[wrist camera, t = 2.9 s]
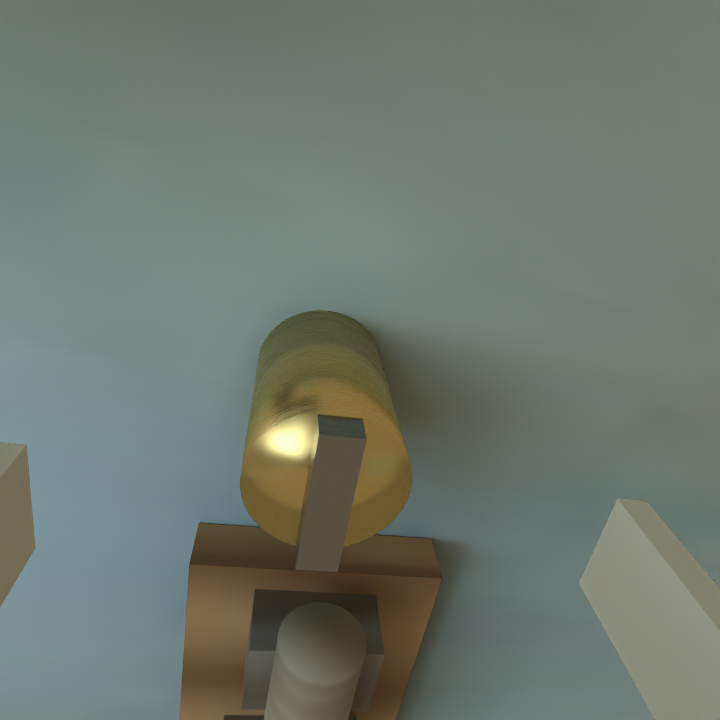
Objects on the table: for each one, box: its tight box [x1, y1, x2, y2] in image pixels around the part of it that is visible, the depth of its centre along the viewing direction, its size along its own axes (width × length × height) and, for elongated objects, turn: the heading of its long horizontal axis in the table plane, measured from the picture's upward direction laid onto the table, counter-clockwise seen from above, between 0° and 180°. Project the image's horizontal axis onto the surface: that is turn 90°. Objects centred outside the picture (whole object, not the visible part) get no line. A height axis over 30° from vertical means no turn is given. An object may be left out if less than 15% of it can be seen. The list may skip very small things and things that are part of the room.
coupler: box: [240, 311, 412, 572], centre depth 15 cm, size 4×4×7 cm
